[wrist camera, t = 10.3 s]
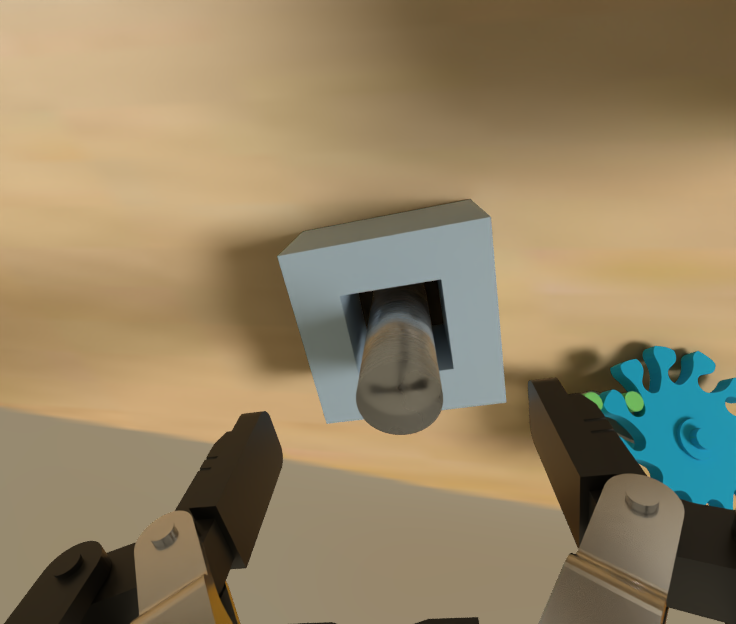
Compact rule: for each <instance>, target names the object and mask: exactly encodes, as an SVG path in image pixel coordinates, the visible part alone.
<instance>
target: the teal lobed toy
mask: <svg viewBox="0 0 736 624" xmlns="http://www.w3.org/2000/svg"><path fill="white" fill-rule="evenodd" d="M643 360H644V362H645V363H646V365H647V368H648V371H649V375H650V385H649V391H647V390H646V389H645V388H644V386H643V383H642V379H643V372H644V371H643V367H642V365H641V363H640V362H639V361H638V360H637V359H632V360H628V361H625V362H622V363H619V364H617V365H615V366H613V367H611V368H610V371H611V374H612V376H613V377H614V378H615V380H617V381H618V382H619V383H620V384H621V385H622V386H623V387H624V388H625V390H626V391H627V392H626V393H622V394H621V393H619V392H618V391H616V390H609V391H605V392H602V393H599V392H597V391H588V392H584V393H581V394H582V395H584V396H585V397H587V398H588V399H590V400H591V401H593V402H594V403H596V404H597V406H598V407H599V408H600V410H601V411H602V413H603V414H604V416H605V417H606V420H608V421H609V423H610V424H611V425H612V427H613V428H614V432H616V433H617V434H618V435H619V437H620V438H621V440H622V441H623V443H624V444H625V445H626V447H627V448H628V450H629V451H630V453H631V454H632V455H633V457H634V458H635V460H636V461H637V462H638V463H639V464H641V465H643V466H644V467H646V468H647V469H648V471H649V473H650V477H651V478H653V479H655V480H657V481H659V482H661V483H663V484H665V485H666V486H668V487H669V488H670V489H671V490H673V491H674V492H675V493H676V495H677V496H678V497H679V498H680V499H682V500H686V501H689V502H692V503H697V504H702V505H706V503H708V504H709V506H714V507H720V508H726V509H731V510H733V495H734V494H735V496H736V416H734V415H732V414H731V413H730V412H729V411H728V410H727V408H726V406H725V402H727V403H736V378H731V379H726V380H722V381H720V382H719V383H718V384H717V386H716V388H715V389H714V390H713V391H712V392H710V393H707V392H705V391H703V390H702V389H701V388H700V386H699V384H698V377H699V376H701V375H705V374H710V373H712V372H713V371H714V370H715V363H714V362H713V361H712V360H711V359H710V358H709V357H707V356H706V355H704V354H703V353H701V352H699V351H696V352H693V353H690V354H686V355H684V356H683V357H682V359H681V373H680V376H679V378H678V380H677V381H676V382H675V383H673V382H672V381H671V380H670V378H669V376H668V370H669V368H670V367H671V366H672V365H673V364H674V363H675V361H676V355H675V352H674V350H672V349H670V348H667V347H661V346H654V347H651V348H648V349H645V350H644V351H643Z"/></svg>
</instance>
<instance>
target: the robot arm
mask: <svg viewBox="0 0 736 624" xmlns="http://www.w3.org/2000/svg"><path fill="white" fill-rule="evenodd" d="M528 398H529V418H530V429H531V434H532V438H533V441H534V444H535V447H536V449H537V452H538V454H539V456H540V459H541V461H542V463H543V466H544V468H545V471H546V473H547V475H548V478H549V480H550V483H551V485H552V487H553V490H554V492H555V495H556V497H557V499H558V502H559V504H560V506H561V509H562V511H563V514H564V516H565V518H566V521H567V523H568V525H569V528H570V530H571V533H572V535H573V537H574V540H575V542H576V545H577V547H578V551H577V553H576V554H573V553H570V554H569V555H568V557H567V558H566V560H565V562H564V565H563V567H562V569H561V572H560V574H559V576H558V579H557V581H556V583H555V586H554V588H553V590H552V593H551V595H550V598H549V600H548V602H547V605H546V607H545V609H544V612H543V614H542V616H541V619H540V621H539V624H666V620H667V616H668V611H669V608H673V609H677V610H680V611H684V612H688V613H692V614H695V615H699V616H702V617H707V618H710V619H714V620H717V621H721V622H725V624H736V510H731V509H726V508H720V507H714V506H708V505H702V504H697V503H692V502H689V501H686V500H682V499H680V498H679V497H678V496H677V495H676V493H675V492H674V491H673V490H671V489H670V488H669V487H668V486H666V485H665V484H663V483H661V482H659V481H657V480H655V479H653V478H650V477H648V476H647V475H646V474H645V472H644V471H643V470H642V468H641V467H640V465H639V464H638V462H637V461H636V460H635V458H634V457H633V455H632V454H631V453H630V451H629V450H628V448H627V447H626V445H625V444H624V443H623V441H622V440H621V438H620V437H619V435H618V434H617V433H616V432H614V428H613V427H612V425H611V424H610V423H609V421H608V420H606V417H605V416H604V414H603V413H602V411H601V410H600V408H599V407H598V406H597V404H596V403H594V402H593V401H591V400H590V399H588V398H587V397H585V396H584V395H582V394H581V393H575V394H567V393H566V391H565V390H564V388H563V386H562V385H561V383H560V382H559V380H558V379H557V378H556V377H555V378H547V379H538V380H530V381H529V382H528ZM282 463H283V454H282V448H281V445H280V443H279V440H278V437H277V434H276V432H275V429H274V426H273V424H272V421H271V418H270V416H269V414H268V413H267V412H266V411H263V412H254V413H246V414H242V415H241V416H240V417H239V419H238V421H237V423H236V424H235V426H234V428H233V430H232V431H230V432H226V433H225V434H224V435H223V436H222V437H221V438H220V439H219V440H218V441H217V442H216V443H215V444H214V445H213V447H212V449H211V450H210V452H209V454H208V456H207V459H206V460H205V461H204V462H203V464H202V466H201V468H200V471H198V472H197V474H196V476H195V478H194V479H193V481H192V483H191V484H190V486H189V488H188V489H187V491H186V493H185V494H184V496H183V498H182V500H181V501H180V503H179V505H178V506H177V508H176V510H175V511H174V512H170V513H167V514H165V515H163V516H161V517H159V518H158V519H157V520H155V521H154V522H152V523H151V524H150V525H149V526H148V527H147V528H146V529H145V530H144V531H143V532H142V533H141V535H140V536H139V538H138V539H137V542H136V543H133V544H130V545H127V546H125V547H122V548H119V549H116V550H114V551H111V552H109V553H106V552H105V550H104V549H103V547H102V546H101V545H100V544H99V543H98V542H96V541H87V542H83V543H80V544H78V545H75V546H73V547H71V548H70V549H68V550H66V551H65V552H63V553H62V554H61V555H59V556H58V557H57V558H56V559H55V560H54V561H53V562H51V563H50V564H49V566H48V567H47V568H46V569H45V570H44V571H43V573H42V574H41V575H40V577H39V578H38V579H37V581H36V582H35V583H34V585H33V586H32V587H31V589H30V590H29V591H28V593H27V594H26V595H25V597H24V598H23V599H22V601H21V602H20V603H19V605H18V606H17V607H16V609H15V610H14V611H13V612H12V614H11V615H10V617H9V618H8V619H7V621H6V622H5V623H4V624H241V623H240V620H239V617H238V614H237V611H236V608H235V604H234V602H233V598H232V595H231V592H230V589H229V586H228V584H227V582H226V579H227V576H228V573H229V571H230V569H241V568H246V567H247V565H248V562H249V559H250V557H251V553H252V551H253V548H254V545H255V542H256V539H257V537H258V533H259V530H260V528H261V525H262V522H263V519H264V517H265V514H266V511H267V508H268V505H269V502H270V500H271V497H272V494H273V491H274V488H275V485H276V482H277V479H278V477H279V474H280V471H281V468H282ZM300 624H301V623H300ZM302 624H336V623H332V622H329V623H302ZM415 624H479V620H478V617H472V618H446V619H445V618H443V619H427V620H424V621H421V622H419V623H415Z"/></svg>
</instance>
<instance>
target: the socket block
mask: <svg viewBox="0 0 736 624" xmlns="http://www.w3.org/2000/svg"><path fill="white" fill-rule="evenodd" d="M277 257H278V261H279V264H280V267H281V271H282V274H283V278H284V281H285V284H286V288H287V291H288V294H289V298H290V301H291V305H292V308H293V311H294V315H295V318H296V322H297V325H298V328H299V332H300V335H301V338H302V342H303V345H304V349H305V352H306V355H307V359H308V362H309V365H310V369H311V372H312V376H313V379H314V382H315V386H316V389H317V393H318V396H319V399H320V403H321V406H322V409H323V413H324V416H325V420H326V423H327V424H328V423H337V422H345V421H354V420H362V419H364V418H363V417H362V416H361V414H360V412H359V410H358V408H357V404H356V391H357V385H358V380H359V374H360V368H361V362H362V356H363V351H364V345H365V339H366V333H367V329H366V324H365V320H364V315H363V311H362V306H361V302H360V297H359V293H361V292H367V291H373V290H379V289H385V288H391V287H397V286H403V285H409V284H415V283H421V282H427V281H433V280H437V282H438V289H439V296H440V303H441V310H442V317H443V324H439V325H432V331H433V337H434V343H435V349H436V355H437V361H438V367H439V373H440V380H441V386H442V392H443V406H442V410H447V409H455V408H464V407H472V406H481V405H489V404H498V403H506V392H505V380H504V368H503V356H502V344H501V333H500V321H499V309H498V297H497V285H496V273H495V262H494V250H493V238H492V226H491V217H490V216H489V215H488V214H487V213H486V212H485V211H483V210H482V209H481V208H480V207H479V206H478V205H477V204H475V203H474V202H473V201H472V200H471V199H470V200H464V201H459V202H454V203H449V204H444V205H438V206H433V207H428V208H423V209H417V210H412V211H407V212H402V213H397V214H391V215H386V216H381V217H376V218H371V219H365V220H360V221H355V222H350V223H344V224H339V225H334V226H329V227H324V228H318V229H313V230H308V231H303V232H302V233H301V234H300V235H299V236H298V237H297V238H296V239H295V240H294V241H293V242H291V243H290V244H289V245H288V246H287V247H286V248H285V249H284V250H283V251H282V252H281V253H280V254H279V255H278V256H277Z"/></svg>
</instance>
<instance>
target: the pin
mask: <svg viewBox="0 0 736 624" xmlns="http://www.w3.org/2000/svg"><path fill="white" fill-rule="evenodd" d="M356 404H357V408H358V410H359V412H360V414H361V416H362V417H363V418H364V420H365V421H366V422H367V423H369V424H370V425H371V426H372V427H374V428H376V429H378V430H380V431H382V432H385V433H389V434H395V435H407V434H412V433H416V432H419V431H421V430H423V429H425V428H427V427H428V426H430V425H431V424H432V423H433V422H434V421H435V420H436V419H437V417H438V416H439V414H440V412H441V410H442V406H443V392H442V386H441V380H440V373H439V367H438V361H437V355H436V349H435V343H434V337H433V331H432V325H431V319H430V313H429V307H428V301H427V295H426V290H425V286H424V284H423V282H421V283H415V284H409V285H403V286H397V287H391V288H385V289H379V290H374V293H373V298H372V304H371V310H370V316H369V322H368V327H367V333H366V339H365V345H364V351H363V356H362V362H361V368H360V374H359V380H358V385H357V391H356Z"/></svg>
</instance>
